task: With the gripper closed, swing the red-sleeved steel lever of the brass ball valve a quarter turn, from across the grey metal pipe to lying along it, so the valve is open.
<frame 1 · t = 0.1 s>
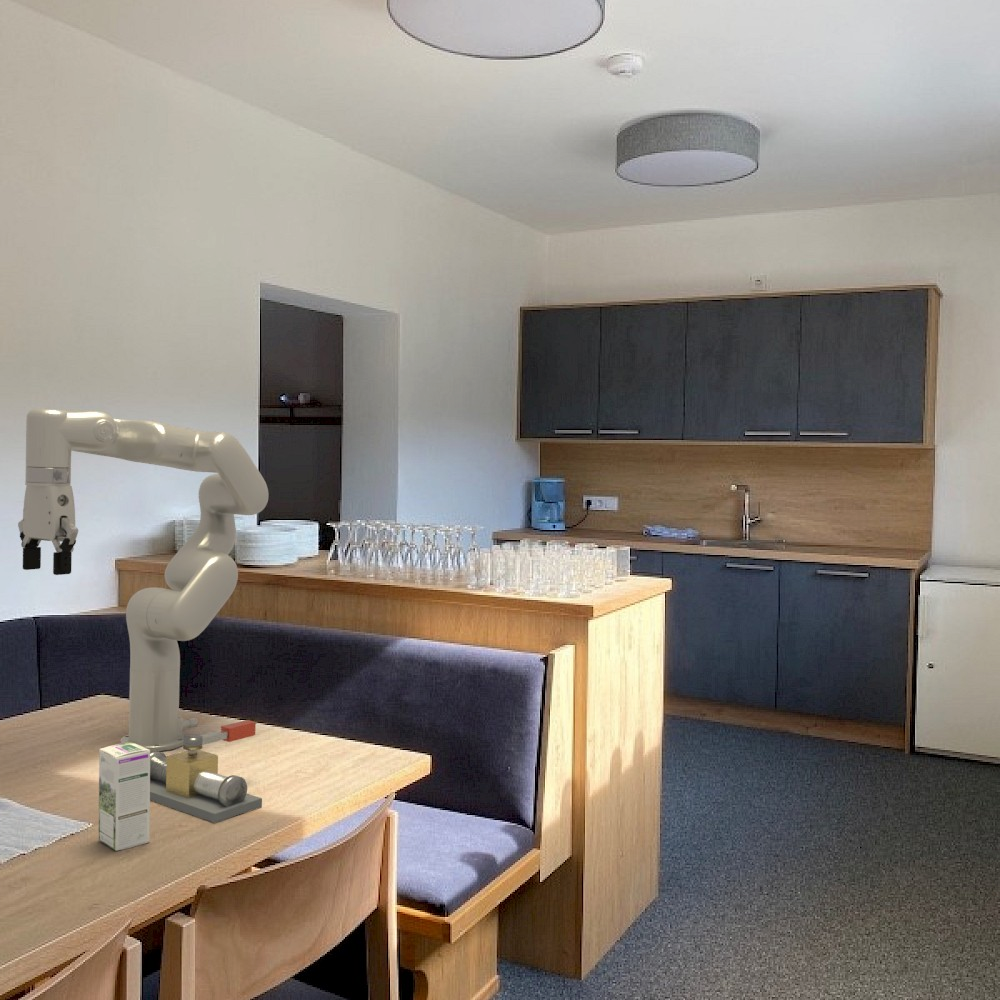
hand: (46, 571, 187), 37 cm above the table, tool pointing down, fingers open, 9 cm apart
valve lever: (219, 738, 182), point 9 cm above the table, hinge at 0.0°
syrup box: (123, 843, 157), on the table
slate board: (191, 798, 177), on the table
valve pipe: (191, 798, 177), resting on slate board
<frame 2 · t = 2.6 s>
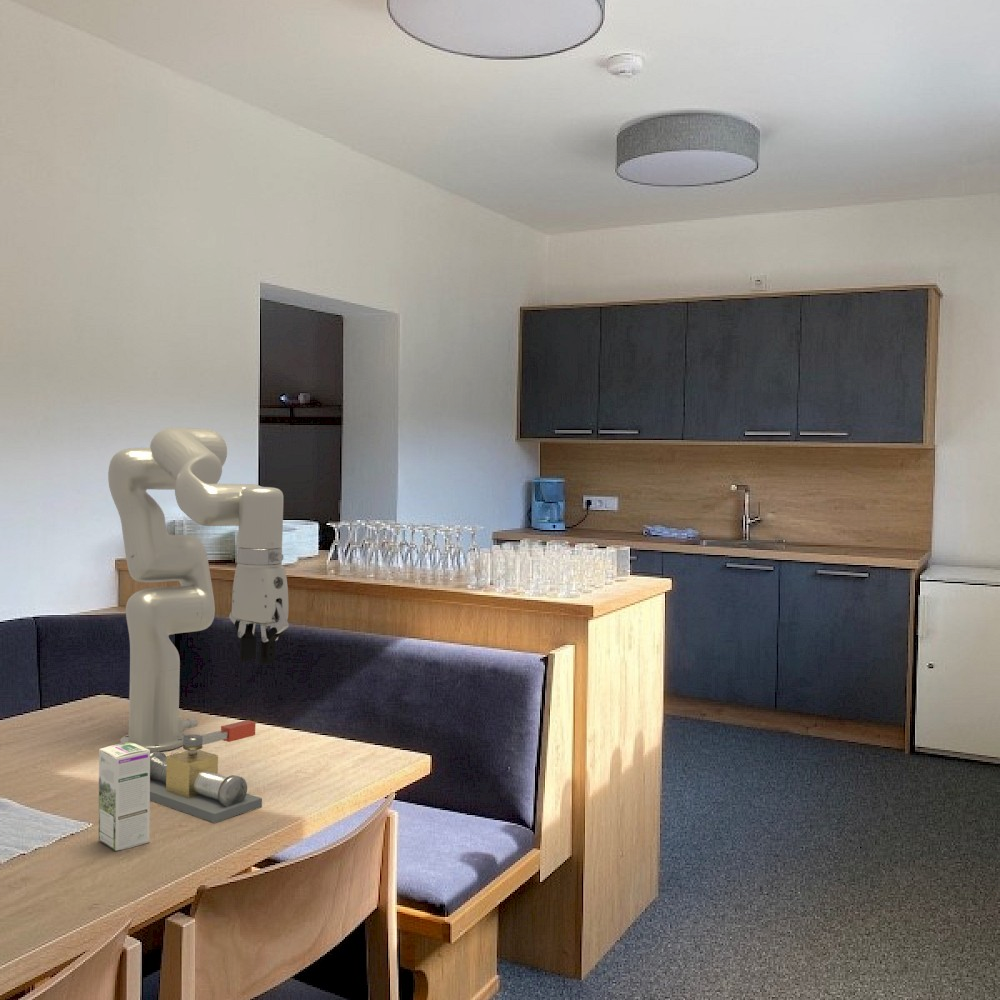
hand: (257, 660, 181), 23 cm above the table, tool pointing down, fingers open, 4 cm apart
nothing on the table moved.
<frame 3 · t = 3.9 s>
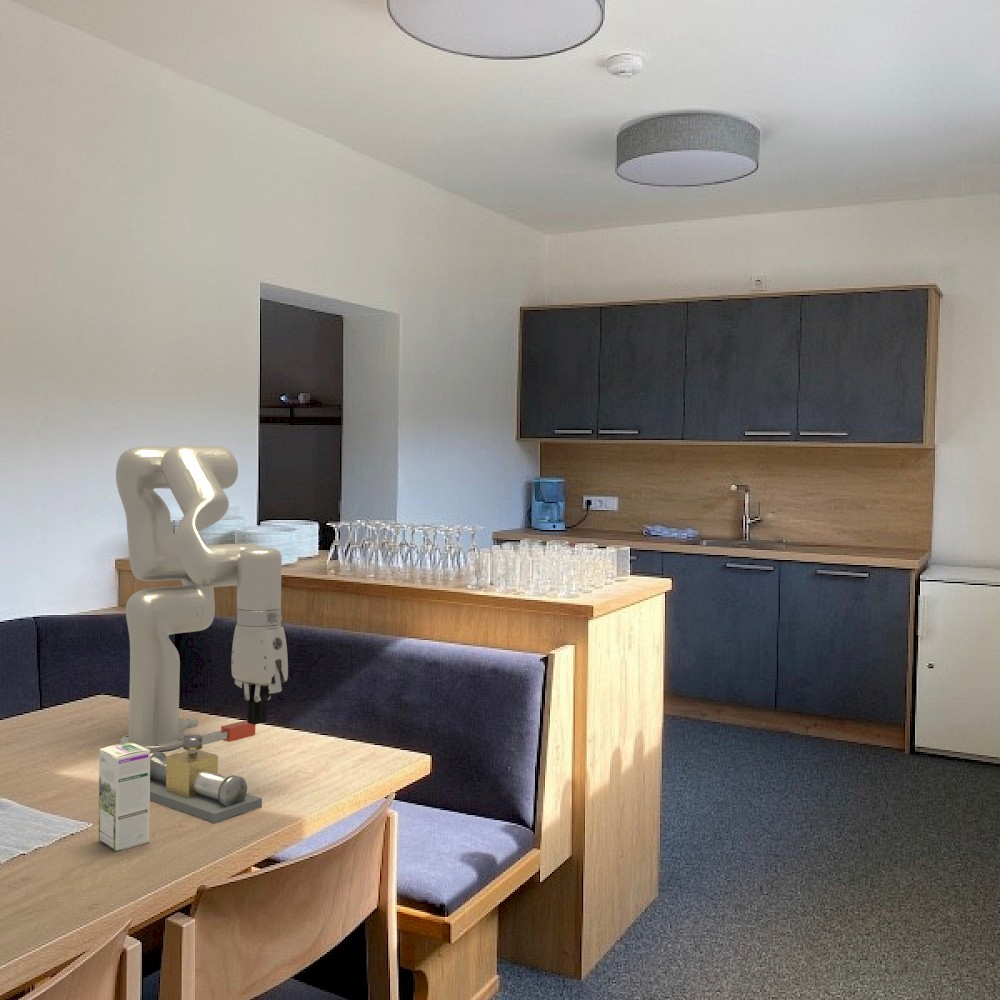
hand: (257, 722, 181), 12 cm above the table, tool pointing down, fingers closed
nothing on the table moved.
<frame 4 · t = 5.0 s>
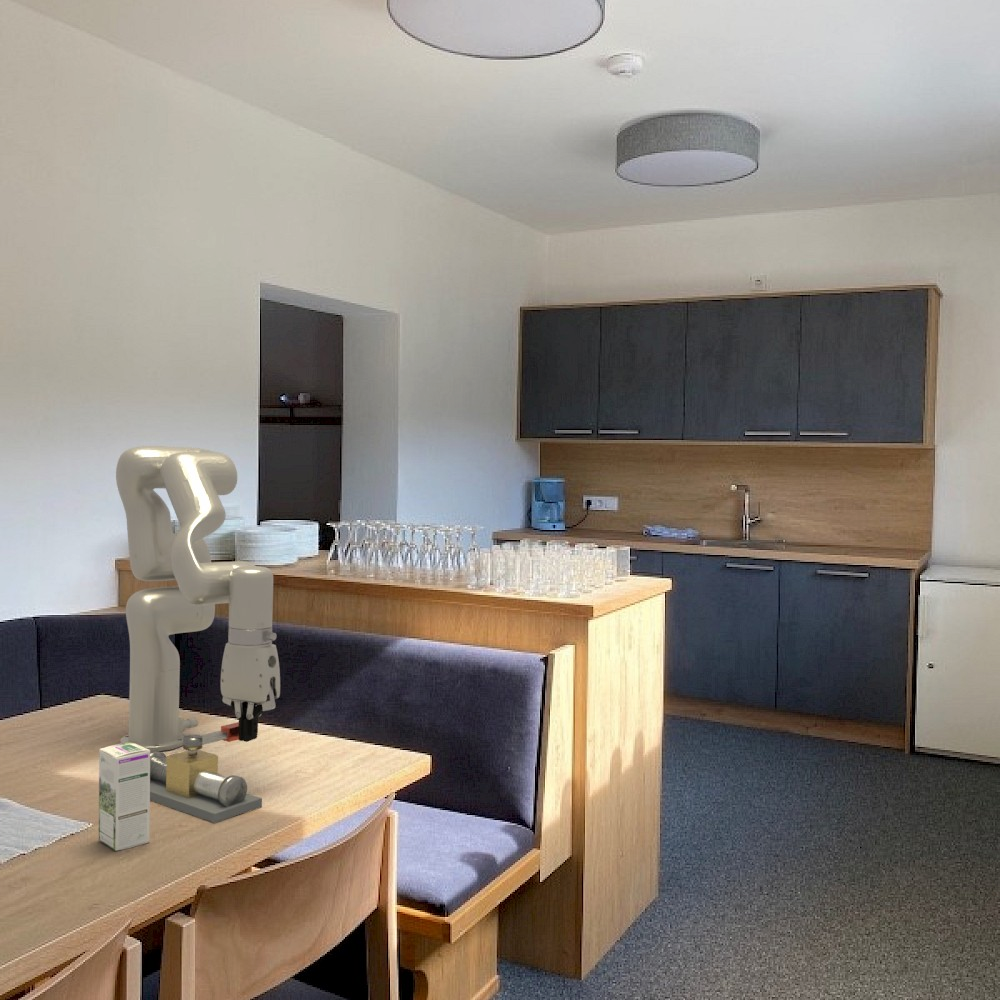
hand: (247, 739, 183), 9 cm above the table, tool pointing down, fingers closed
valve lever: (219, 738, 182), point 9 cm above the table, hinge at 0.1°, touching gripper
everything else where it was.
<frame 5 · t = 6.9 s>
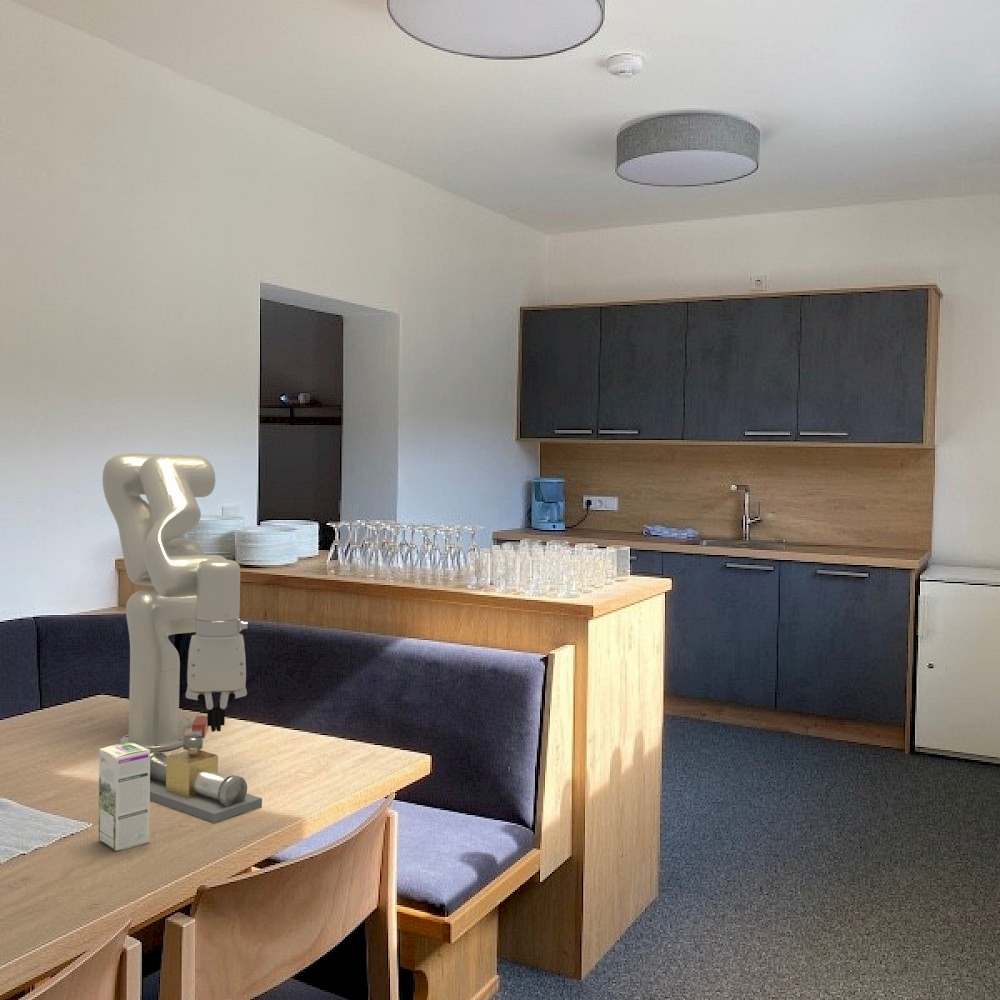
hand: (215, 729, 186), 10 cm above the table, tool pointing down, fingers closed
valve lever: (197, 735, 182), point 9 cm above the table, hinge at 44.0°, touching gripper
everything else where it was.
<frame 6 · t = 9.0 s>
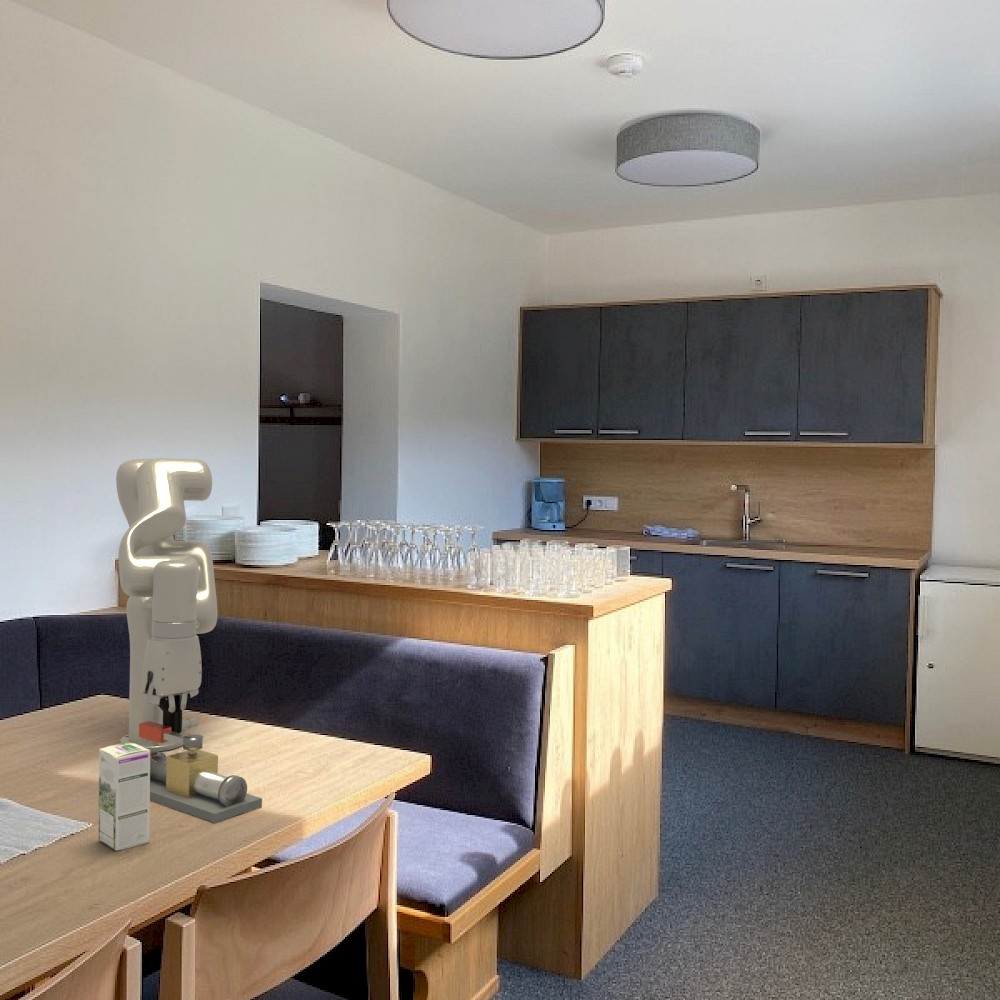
hand: (172, 732, 184), 9 cm above the table, tool pointing down, fingers closed
valve lever: (171, 738, 180), point 9 cm above the table, hinge at 91.1°, touching gripper
everything else where it was.
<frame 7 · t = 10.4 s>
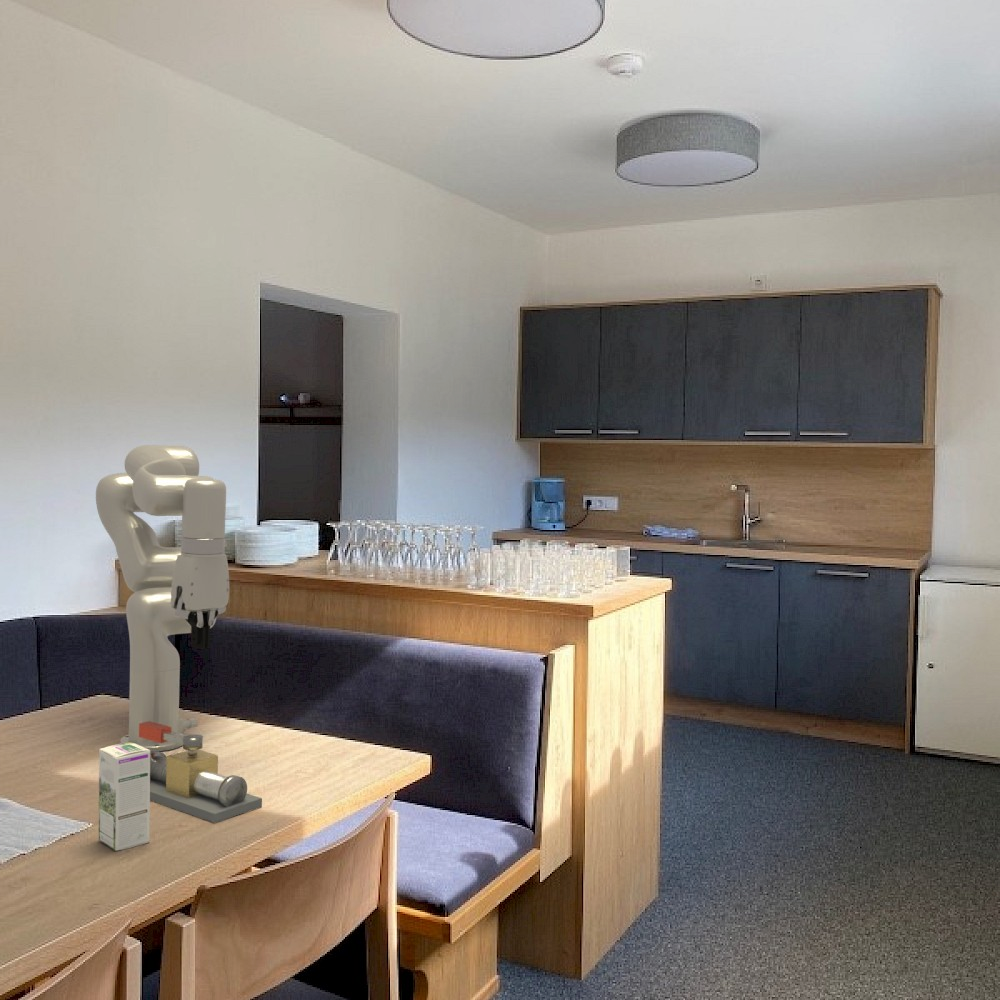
hand: (200, 647, 188), 24 cm above the table, tool pointing down, fingers closed
valve lever: (171, 738, 180), point 9 cm above the table, hinge at 91.1°
everything else where it was.
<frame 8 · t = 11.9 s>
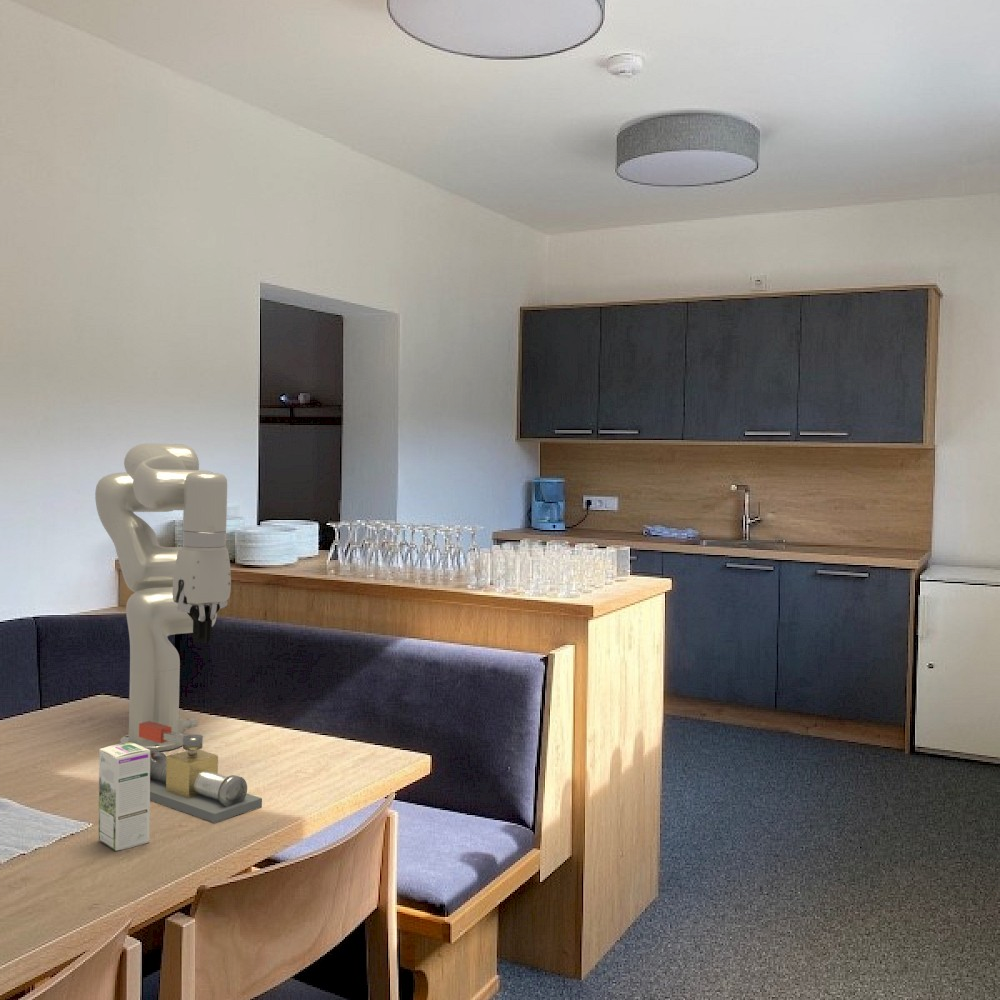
hand: (202, 641, 187), 25 cm above the table, tool pointing down, fingers closed
nothing on the table moved.
at the end: valve lever at +91° (first picture: +0°); syrup box moved 0.2 cm from its start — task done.
